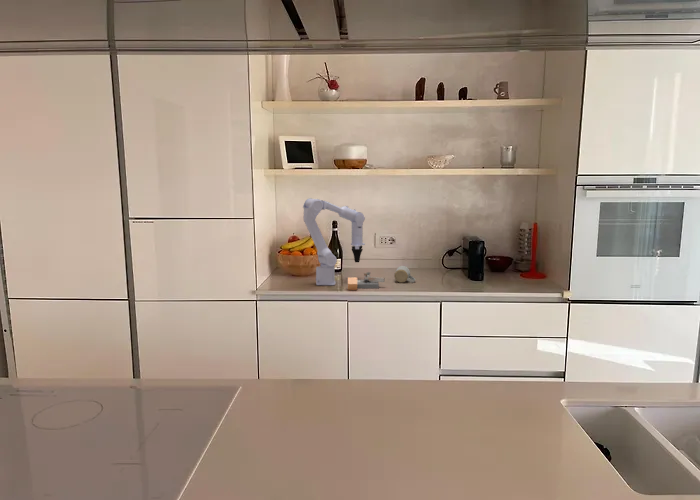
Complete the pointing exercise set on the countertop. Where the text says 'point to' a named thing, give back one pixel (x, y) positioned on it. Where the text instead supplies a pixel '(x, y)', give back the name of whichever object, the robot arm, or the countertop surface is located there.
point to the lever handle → (372, 278)
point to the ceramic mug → (403, 275)
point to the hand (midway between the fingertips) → (357, 260)
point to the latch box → (367, 284)
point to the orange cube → (352, 283)
